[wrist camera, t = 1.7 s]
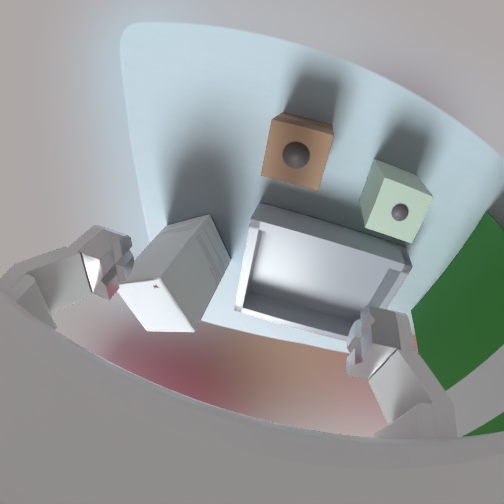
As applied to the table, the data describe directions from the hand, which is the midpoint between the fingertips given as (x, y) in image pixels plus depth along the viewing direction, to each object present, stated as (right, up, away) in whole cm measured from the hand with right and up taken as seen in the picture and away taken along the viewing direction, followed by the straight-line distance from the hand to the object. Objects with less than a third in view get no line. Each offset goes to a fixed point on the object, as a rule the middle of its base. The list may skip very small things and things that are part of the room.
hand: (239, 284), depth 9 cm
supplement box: (-7, +2, +28) cm, 29 cm away
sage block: (+15, +8, +17) cm, 24 cm away
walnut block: (+5, +12, +17) cm, 22 cm away
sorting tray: (+9, -1, +26) cm, 27 cm away
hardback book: (+29, -2, +20) cm, 35 cm away
